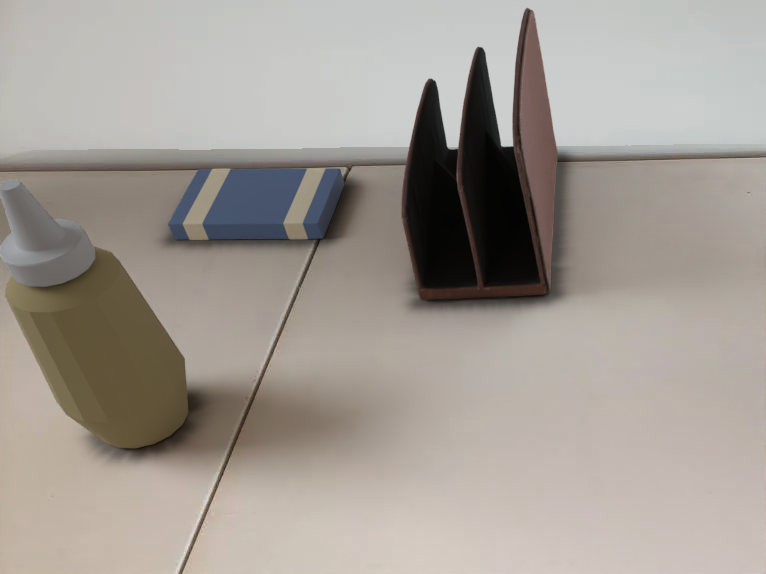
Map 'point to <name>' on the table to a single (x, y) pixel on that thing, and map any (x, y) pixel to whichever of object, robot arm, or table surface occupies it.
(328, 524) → the table surface
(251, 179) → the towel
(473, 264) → the letter holder
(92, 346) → the squeeze bottle
